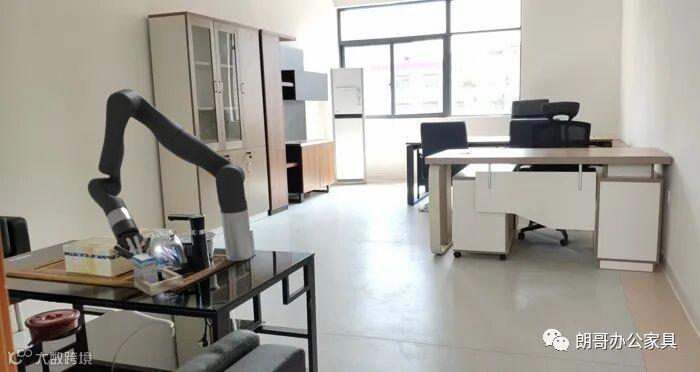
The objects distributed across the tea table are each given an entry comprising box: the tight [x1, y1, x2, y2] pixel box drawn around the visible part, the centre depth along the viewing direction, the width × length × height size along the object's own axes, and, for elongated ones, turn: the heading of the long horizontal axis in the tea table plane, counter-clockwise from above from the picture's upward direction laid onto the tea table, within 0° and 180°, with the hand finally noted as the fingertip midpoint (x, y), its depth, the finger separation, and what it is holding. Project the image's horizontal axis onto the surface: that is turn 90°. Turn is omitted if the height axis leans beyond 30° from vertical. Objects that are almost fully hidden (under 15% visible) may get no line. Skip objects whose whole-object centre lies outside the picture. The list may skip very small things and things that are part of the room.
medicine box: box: [131, 253, 159, 284], centre depth 168 cm, size 8×4×9 cm, turn 44°
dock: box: [133, 267, 184, 297], centre depth 165 cm, size 10×12×3 cm
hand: (142, 266), depth 172 cm, fingers closed
